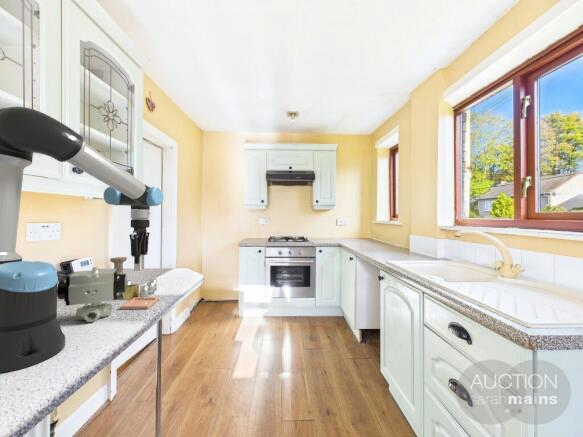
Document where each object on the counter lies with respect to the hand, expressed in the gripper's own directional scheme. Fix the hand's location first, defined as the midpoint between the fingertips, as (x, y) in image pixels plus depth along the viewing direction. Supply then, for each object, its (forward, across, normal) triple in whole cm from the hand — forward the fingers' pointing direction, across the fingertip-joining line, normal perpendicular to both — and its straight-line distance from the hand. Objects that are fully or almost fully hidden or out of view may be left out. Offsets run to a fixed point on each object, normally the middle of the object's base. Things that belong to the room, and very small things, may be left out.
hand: (139, 269), depth 114 cm
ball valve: (+11, -29, 0) cm, 31 cm away
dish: (+10, -16, -8) cm, 21 cm away
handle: (+11, +4, +12) cm, 16 cm away
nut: (+11, -7, 0) cm, 13 cm away
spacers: (+10, -3, 0) cm, 11 cm away
